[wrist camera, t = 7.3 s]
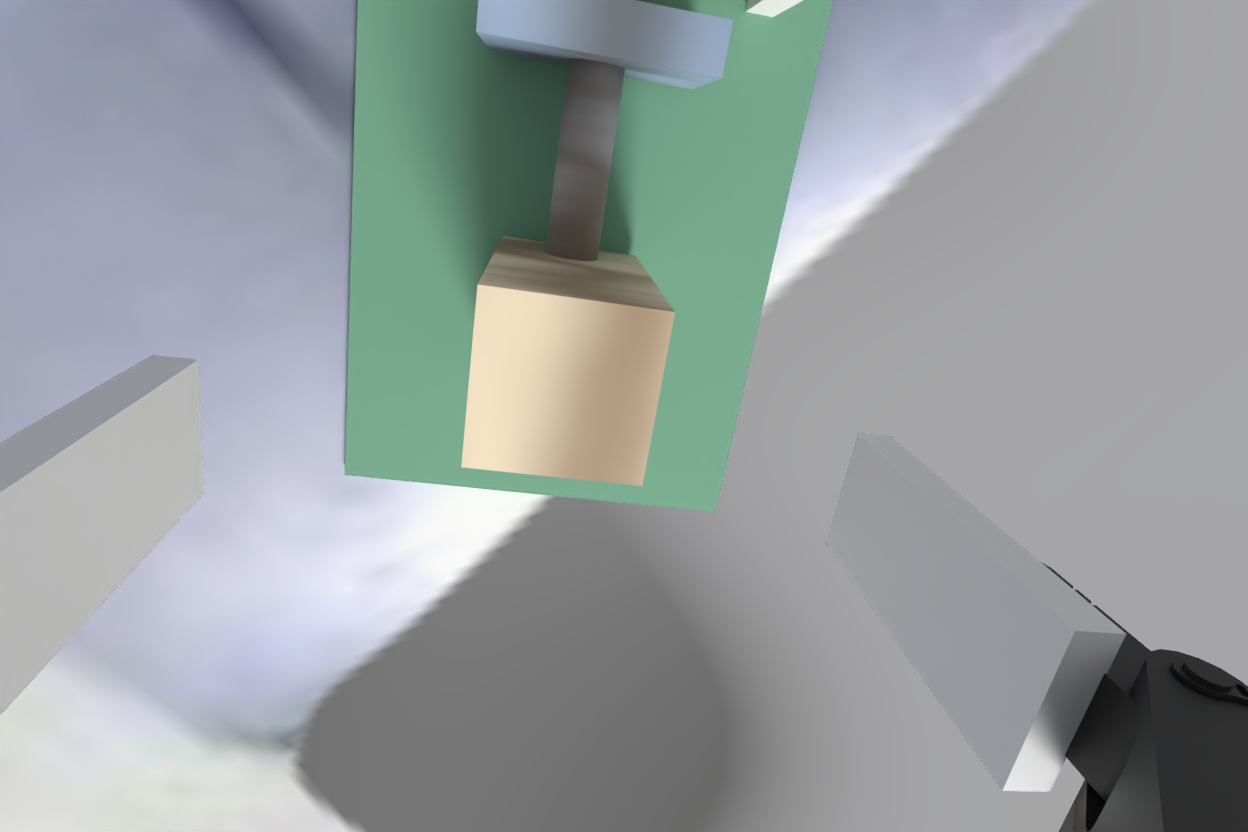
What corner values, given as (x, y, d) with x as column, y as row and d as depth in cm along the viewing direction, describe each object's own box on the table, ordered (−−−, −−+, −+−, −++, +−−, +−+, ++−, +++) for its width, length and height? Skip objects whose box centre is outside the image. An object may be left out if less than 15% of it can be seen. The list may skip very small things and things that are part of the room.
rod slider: (464, 361, 28) (423, 463, 19) (495, 2, 24) (460, -79, 15) (639, 382, 29) (677, 489, 20) (699, 42, 25) (780, -11, 16)
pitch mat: (347, 470, 30) (344, 474, 30) (369, -317, 21) (366, -325, 21) (713, 507, 32) (715, 511, 32) (872, -190, 24) (878, -196, 23)
